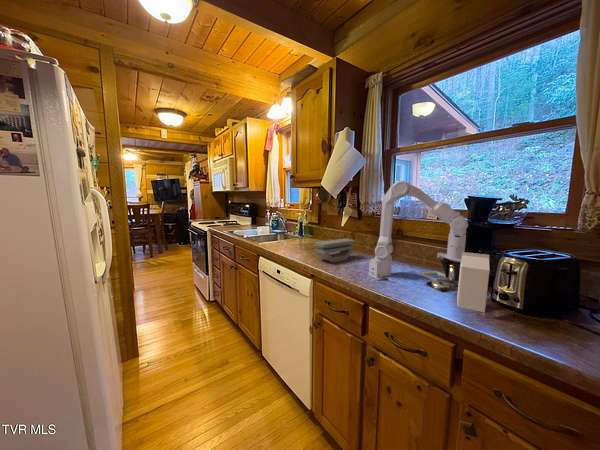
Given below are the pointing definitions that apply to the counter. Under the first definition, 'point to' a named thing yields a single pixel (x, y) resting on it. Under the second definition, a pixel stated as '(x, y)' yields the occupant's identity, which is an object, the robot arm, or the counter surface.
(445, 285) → the pulley deck
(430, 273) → the tray
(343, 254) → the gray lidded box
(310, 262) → the counter surface
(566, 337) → the counter surface
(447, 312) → the counter surface
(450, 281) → the lock pin
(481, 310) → the milk carton
